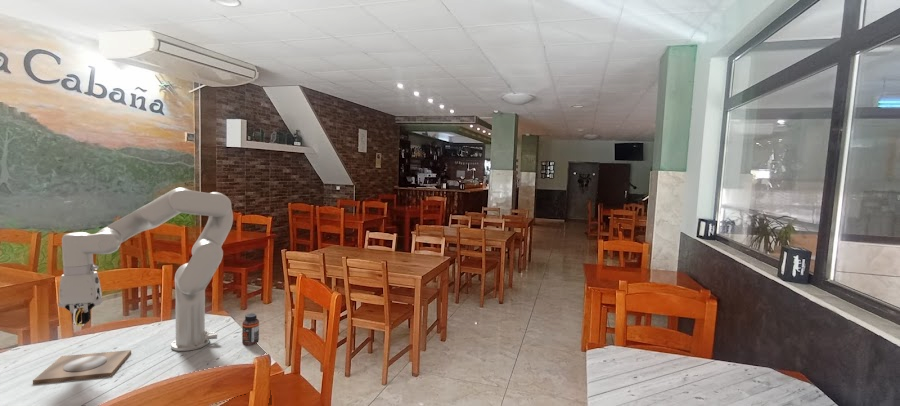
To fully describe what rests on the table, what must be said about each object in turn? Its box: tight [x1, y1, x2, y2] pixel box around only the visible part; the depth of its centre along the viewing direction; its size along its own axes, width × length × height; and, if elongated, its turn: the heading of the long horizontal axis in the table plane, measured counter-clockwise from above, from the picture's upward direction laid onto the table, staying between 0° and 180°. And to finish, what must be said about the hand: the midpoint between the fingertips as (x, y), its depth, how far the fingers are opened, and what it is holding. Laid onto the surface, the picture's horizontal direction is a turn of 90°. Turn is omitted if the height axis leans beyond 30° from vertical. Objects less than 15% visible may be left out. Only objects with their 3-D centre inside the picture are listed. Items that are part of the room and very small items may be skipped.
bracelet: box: [72, 304, 85, 327], centre depth 141 cm, size 7×3×8 cm, turn 11°
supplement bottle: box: [241, 312, 260, 346], centre depth 165 cm, size 6×6×11 cm
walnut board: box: [32, 349, 132, 385], centre depth 141 cm, size 20×17×2 cm
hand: (81, 322), depth 142 cm, fingers closed on bracelet, 1 cm apart
